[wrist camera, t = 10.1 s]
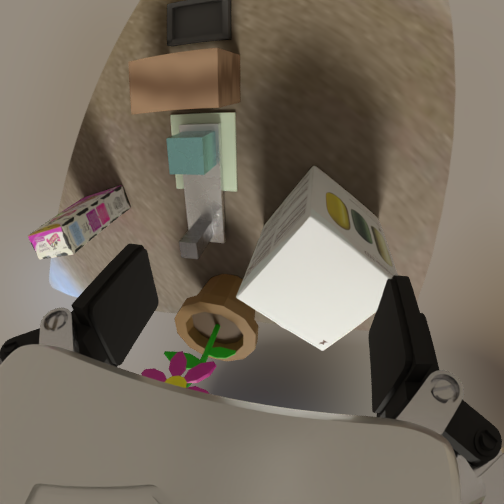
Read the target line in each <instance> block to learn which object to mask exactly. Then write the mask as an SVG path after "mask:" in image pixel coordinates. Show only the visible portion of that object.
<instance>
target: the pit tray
mask: <svg viewBox="0 0 504 504" xmlns="http://www.w3.org/2000/svg"><path fill="white" fill-rule="evenodd" d="M230 39H231V0H185V1H180V2H175V3H171V4H167V46H177V45H184V44H191V43H199V42H207V41H218V40H230Z"/></svg>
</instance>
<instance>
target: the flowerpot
mask: <svg viewBox="0 0 504 504" xmlns="http://www.w3.org/2000/svg"><path fill="white" fill-rule="evenodd" d="M242 281H243V279H241V278H240V277H238V276H235V275H228V274H221V275H218V276H215V277H212V278H211V279H210V280H209V281H208V282H207V284H206V285H205V286H204V287H203V289H202V290H201V291H200V292H199V294H198V295H197V296H194V297H190V298H187V299H186V301H185V302H184V304H183V305H182V307H181V308H180V310H179V312H178V313H177V315H176V317H175V323H176V327H177V333H178V334H179V335H180V337H181V338H182V339H183V340H184V341H185V342H186V343H187V345H188V346H189V347H190V348H192V349H194V350H196V351H197V352H199V353H201V354H203V355H202V357H201V359H200V360H199V359H198V358H196V357H195V356H193V355H191V354H188V353H183V351H182V352H166V351H165V353H164V354H165V356H166V357H167V358H168V359H169V360H170V366H169V370H170V372H171V374H172V377H170V378H169V379H166V377H165V375H164V373H163V372H161V371H158V370H156V369H146V370H144V371H143V372H142V373H141V374H142V376H145V377H148V378H151V379H155V380H158V381H162V382H165V383H169V384H172V385H176V386H179V387H183V388H187V389H191V390H195V391H199V392H203V393H207V394H209V393H208V391H206V390H204V389H201V388H199V387H196V386H194V387H189V386H190V385H191V384H192V383H198V382H200V381H202V380H203V379H205V378H207V377H209V376H210V375H211V373H212V372H213V370H214V369H215V368H216V365H215V363H214V362H206V360H207V358H208V357H209V358H214V359H219V360H223V361H232V360H239V359H244V358H245V357H246V356H248V355H249V354H250V353H251V352H253V351H254V350H255V348H256V344H257V339H258V325H257V323H256V322H255V320H254V317H255V309H253V308H252V307H250V306H248V305H247V304H245V303H244V302H242V301H241V300H239V299H237V298H236V295H237V293H238V290H239V288H240V286H241V283H242ZM186 369H190V370H189V371H188V372H187V374H186V375H185V377H181V375H182V373H183V372H184V371H185V370H186Z"/></svg>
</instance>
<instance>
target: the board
mask: <svg viewBox="0 0 504 504" xmlns="http://www.w3.org/2000/svg"><path fill="white" fill-rule="evenodd" d="M170 117H171V131H172V136H173V135H176V134H178V133H179V125H181V124H197V123H221V149H222V174H223V191H236V192H237V151H236V112H224V113H194V114H177V115H170ZM175 177H176V186H177V189H184V183H183V174H175Z"/></svg>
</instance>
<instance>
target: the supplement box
mask: <svg viewBox="0 0 504 504" xmlns="http://www.w3.org/2000/svg"><path fill="white" fill-rule="evenodd" d="M394 275H398V274H397V271H396V268H395V265H394V262H393V259H392V256H391V253H390V250H389V247H388V244H387V241H386V238H385V235H384V232H383V230H382V227H381V224H380V221H379V219H378V218H377V217H376V216H375V215H374V214H373V213H372V212H371V211H370V210H368V209H367V208H366V207H365V206H364V205H363V204H361V203H360V202H359V201H358V200H357V199H356V198H354V197H353V196H352V195H351V194H350V193H348V192H347V191H346V190H345V189H344V188H342V187H341V186H340V185H339V184H338V183H336V182H335V181H334V180H333V179H331V178H330V177H329V176H328V175H326V174H325V173H324V172H322V171H321V170H320V169H319V168H317V167H316V166H313V167H312V168H311V169H310V170H309V171H308V172H307V174H306V175H305V176H304V177H303V178H302V180H301V181H300V182H299V183H298V184H297V186H296V187H295V188H294V189H293V190H292V192H291V193H290V194H289V195H288V197H287V198H286V199H285V200H284V201H283V203H282V204H281V205H280V206H279V208H278V209H277V210H276V211H275V212H274V214H273V215H272V216H271V217H270V219H269V220H268V221H267V222H266V224H265V225H264V227H263V230H262V233H261V235H260V238H259V240H258V243H257V245H256V248H255V251H254V253H253V256H252V258H251V261H250V263H249V266H248V268H247V271H246V273H245V276H244V278H243V281H242V283H241V286H240V288H239V290H238V293H237V295H236V298H237V299H239V300H241V301H242V302H244V303H245V304H247V305H248V306H250V307H252V308H253V309H255V310H256V311H258V312H260V313H261V314H263V315H264V316H266V317H268V318H269V319H271V320H272V321H274V322H276V323H277V324H278V325H280V326H281V327H283V328H285V329H287V330H289V331H290V332H292V333H294V334H295V335H297V336H299V337H300V338H302V339H304V340H305V341H307V342H308V343H310V344H312V345H314V346H315V347H317V348H319V349H320V350H322V351H323V350H325V349H326V348H327V347H329V346H330V345H332V344H333V343H335V342H336V341H338V340H339V339H340V338H342V337H343V336H345V335H346V334H347V333H349V332H350V331H351V330H353V329H354V328H355V327H357V326H358V325H359V324H361V323H362V322H363V321H365V320H366V319H367V318H369V317H370V316H371V315H372V314H374V313H375V312H376V311H377V309H378V306H379V303H380V300H381V297H382V294H383V291H384V288H385V285H386V282H387V280H388V279H392V277H393V276H394Z"/></svg>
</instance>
